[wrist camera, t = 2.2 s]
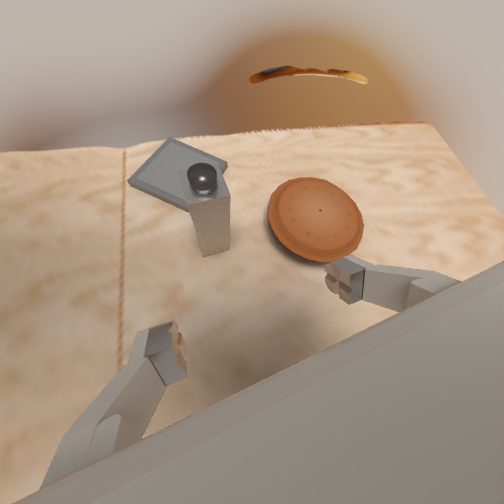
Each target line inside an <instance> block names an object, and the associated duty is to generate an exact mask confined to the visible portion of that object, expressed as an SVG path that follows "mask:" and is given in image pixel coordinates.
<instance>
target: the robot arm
mask: <svg viewBox="0 0 504 504" xmlns="http://www.w3.org/2000/svg"><path fill="white" fill-rule="evenodd" d="M325 271H326V272H327V275H326V277H325V283H326V285H327V287H328V289H329V290H330V291H331V292H333V293H335V294H339V298H341V299H342V300H343V301H345V302H346V303H347V304H349V305H350V304H352V303H354V302H357V301H359V300H362V299H363V300H364V301H367V302H370V303H373V304H376V305H379V306H382V307H385V308H388V309H391V310H394V311H397V312H399V313H397V314H395V315H393V316H391V317H389V318H387V319H385V320H383V321H381V322H379V323H377V324H375V325H373V326H371V327H369V328H367V329H365V330H363V331H361V332H359V333H357V334H355V335H353V336H351V337H349V338H347V339H345V340H343V341H341V342H339V343H337V344H335V345H332V346H330V347H328V348H326V349H324V350H322V351H320V352H318V353H316V354H314V355H312V356H310V357H308V358H306V359H304V360H302V361H300V362H298V363H296V364H294V365H292V366H290V367H288V368H286V369H284V370H282V371H280V372H278V373H276V374H274V375H272V376H270V377H268V378H266V379H264V380H261V381H259V382H257V383H255V384H253V385H251V386H249V387H247V388H245V389H243V390H241V391H239V392H237V393H235V394H233V395H231V396H229V397H227V398H225V399H223V400H221V401H219V402H217V403H215V404H213V405H211V406H209V407H207V408H205V409H203V410H201V411H199V412H197V413H195V414H193V415H191V416H188V417H186V418H184V419H182V420H180V421H178V422H176V423H174V424H172V425H170V426H168V427H166V428H164V429H162V430H160V431H158V432H156V433H154V434H152V435H150V436H148V437H146V438H144V439H142V440H141V438H142V436H143V434H144V432H145V430H146V428H147V426H148V424H149V422H150V420H151V418H152V416H153V414H154V412H155V410H156V408H157V406H158V403H159V401H160V399H161V397H162V395H163V393H164V391H165V389H166V386H168V385H170V384H172V383H174V382H176V381H178V380H181V379H183V378H185V377H187V367H186V361H185V359H184V357H185V355H186V348H185V343H184V340H183V337H182V334H181V333H179V332H178V326H177V324H176V322H175V320H171V321H168V322H165V323H163V324H160V325H157V326H154V327H151V328H148V329H145V330H143V331H140V332H138V333H137V334H136V337H135V341H134V345H133V348H132V352H131V356H130V359H129V363H128V364H127V365H125V366H124V367H123V368H122V369H121V370H120V371H119V372H118V374H117V375H116V376H115V377H114V378H113V379H112V380H111V382H110V383H109V384H108V385H107V386H106V387H105V389H104V390H103V391H102V392H101V393H100V394H99V396H98V397H97V398H96V399H95V400H94V401H93V403H92V404H91V405H90V406H89V407H88V408H87V409H86V411H85V412H84V413H83V414H82V415H81V416H80V418H79V419H78V420H77V421H76V422H75V423H74V425H73V426H72V427H71V428H70V429H69V430H68V432H67V433H66V434H65V435H64V436H63V438H62V440H61V442H60V445H59V447H58V449H57V451H56V454H55V456H54V458H53V460H52V463H51V465H50V467H49V469H48V472H47V474H46V476H45V478H44V481H43V483H42V485H41V487H40V490H39V491H37V492H35V493H32V494H30V495H28V496H26V497H24V498H22V499H20V500H18V501H16V502H14V503H12V504H504V261H503V262H501V263H499V264H497V265H495V266H493V267H491V268H489V269H487V270H485V271H483V272H481V273H479V274H476V275H474V276H472V277H470V278H468V279H466V280H464V281H462V282H461V281H458V280H456V279H453V278H450V277H448V276H445V275H442V274H440V273H437V272H434V271H429V270H420V269H411V268H402V267H393V266H385V265H373V264H371V263H368V262H366V261H364V260H362V259H360V258H357V257H355V256H353V255H347V256H345V257H342V258H341V259H338V260H335V261H333V262H330V263H327V264H326V266H325Z"/></svg>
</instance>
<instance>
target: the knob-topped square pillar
mask: <svg viewBox="0 0 504 504" xmlns="http://www.w3.org/2000/svg"><path fill="white" fill-rule="evenodd" d="M177 173H178V176H179V179H180V182H181V186H182V189H183V192H184V195H185V198H186V202H187V205H188V208H189V211H190V215H191V218H192V221H193V224H194V228H195V231H196V234H197V237H198V240H199V244H200V247H201V250H202V253H203V256H204V257H206V256H209V255H213V254H216V253H219V252H223V251H226V250H229V233H230V193H229V190H228V188H227V185H226V183H225V181H224V178H223V176H222V173H221V171H220V168H219V166H218V164H215V165H210V164H207V163H196V164H193V165H192V166H190V167H189V169H188V170H182V171H177Z"/></svg>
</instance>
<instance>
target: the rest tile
mask: <svg viewBox="0 0 504 504" xmlns="http://www.w3.org/2000/svg"><path fill="white" fill-rule="evenodd" d="M196 163H207V164H210V165H215V164H218V166H219V168H220V171H221V173H222V174H223V173H224V171H225V170H226V168H227V162H226V161H224V160H222V159H219V158H217V157H215V156H212V155H210V154H208V153H205V152H203V151H201V150H198V149H196V148H194V147H191V146H189V145H187V144H184V143H182V142H180V141H178V140H175V139H173V138H171V137H169V138H168V139H167V140H166V141H165V142H164V143H163V144H162V145H161V146H160V147H159V148H158V149H157V150H156V151H155V152H154V153H153V154H152V156H151V157H150V158H149V159H148V160H147V161H146V162H145V163H144V164H143V165H142V166H141V167H140V168H139V169H138V170H137V171H136V172H135V173H134V174H133V175H132V176H131V177H130V178H129V179H128V180H127V181H128V183H129V184H130V186H132V187H134V188H136V189H139V190H141V191H143V192H145V193H147V194H150V195H152V196H154V197H156V198H158V199H161V200H163V201H165V202H167V203H169V204H172V205H174V206H176V207H178V208H181V209H183V210H185V211H187V212H189V213H190V211H189V208H188V205H187V202H186V198H185V195H184V192H183V189H182V186H181V182H180V179H179V176H178V173H177V171H182V170H188V169H189V167H190V166H192V165H193V164H196Z"/></svg>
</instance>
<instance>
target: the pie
mask: <svg viewBox="0 0 504 504" xmlns="http://www.w3.org/2000/svg"><path fill="white" fill-rule="evenodd" d="M268 220H269V222H270V225H271V228H272V230H273V232H274V233H275V235H276V236H277V238H278V239H279V241H280V242H281V243H282V244H283V245H284V246H286V247H287V248H288V249H289V250H290V251H292V252H293V253H295V254H297V255H299V256H301V257H303V258H305V259H309V260H313V261H317V262H321V263H324V262H333V261H335V260H338V259H341V258H342V257H345V256H347V255H349V254H350V253H352V252H353V251H354V250H355V249H357V247H358V245H359V243H360V241H361V238H362V234H363V228H364V224H363V219H362V215H361V213H360V211H359V209H358V207H357V205H356V203H355V202H354V201H353V200H352V199H351V198H350V197H349V196H348V195H347V194H346V193H345V192H344V191H342V190H341V189H340V188H338V187H337V186H336V185H334V184H332V183H330V182H328V181H326V180H324V179H318V178H312V177H311V178H297V179H292V180H288V181H287V182H285V183H283V184H281V185H280V186H278V188H277V189H276V190H275V191H274V192H273V194H272V195H271V198H270V202H269V207H268Z"/></svg>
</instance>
